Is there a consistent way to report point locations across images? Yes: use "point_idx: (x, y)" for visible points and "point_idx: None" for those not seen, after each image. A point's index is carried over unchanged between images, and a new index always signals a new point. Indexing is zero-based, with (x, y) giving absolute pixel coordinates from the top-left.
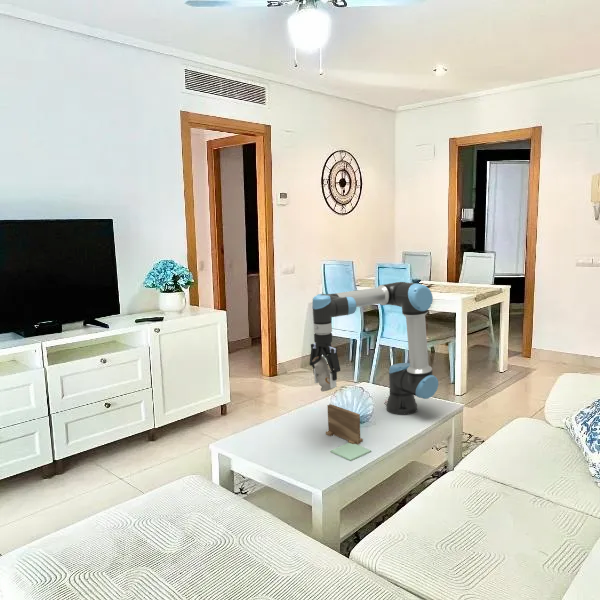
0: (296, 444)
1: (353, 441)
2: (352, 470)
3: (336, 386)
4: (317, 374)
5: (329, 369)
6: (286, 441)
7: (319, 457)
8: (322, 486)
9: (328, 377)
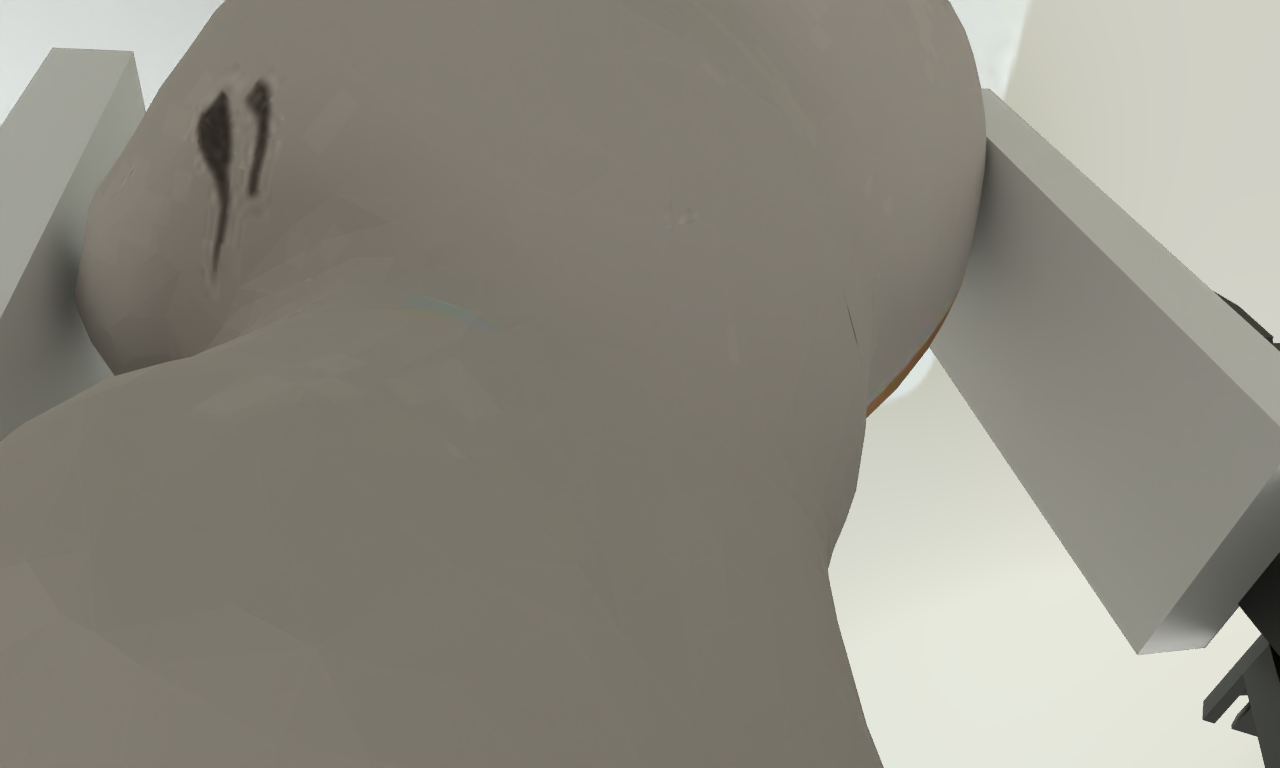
0: (173, 53)
1: None
2: (1001, 88)
3: (994, 95)
4: (84, 390)
5: (745, 274)
6: (9, 76)
7: None
8: (911, 377)
9: (869, 409)
